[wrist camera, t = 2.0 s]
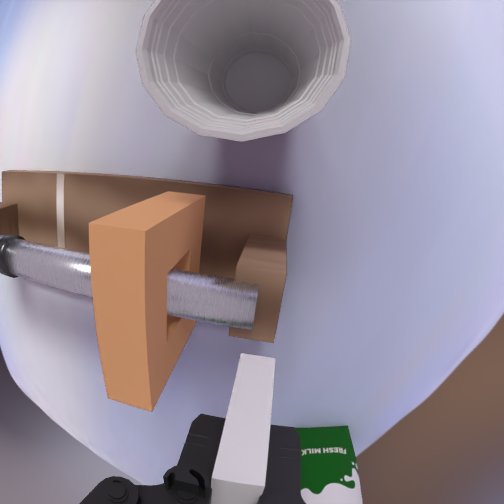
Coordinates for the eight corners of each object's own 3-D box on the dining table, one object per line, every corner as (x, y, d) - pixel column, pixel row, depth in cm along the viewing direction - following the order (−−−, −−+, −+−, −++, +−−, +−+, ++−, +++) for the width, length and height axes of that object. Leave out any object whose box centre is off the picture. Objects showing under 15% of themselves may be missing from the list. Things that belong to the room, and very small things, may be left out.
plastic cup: (225, 166, 26) (179, 178, 15) (177, 60, 24) (110, 12, 12) (344, 119, 24) (390, 95, 13) (291, 12, 21) (293, -66, 10)
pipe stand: (10, 170, 28) (-46, 181, 20) (292, 194, 26) (296, 215, 18) (16, 265, 32) (-33, 293, 23) (271, 320, 30) (265, 381, 22)
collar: (168, 191, 24) (88, 223, 13) (205, 195, 24) (145, 231, 13) (163, 316, 27) (108, 398, 17) (196, 323, 27) (152, 411, 17)
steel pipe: (-26, 220, 22) (-50, 229, 19) (262, 270, 21) (257, 293, 18) (-22, 253, 24) (-45, 264, 20) (255, 316, 22) (249, 344, 19)
